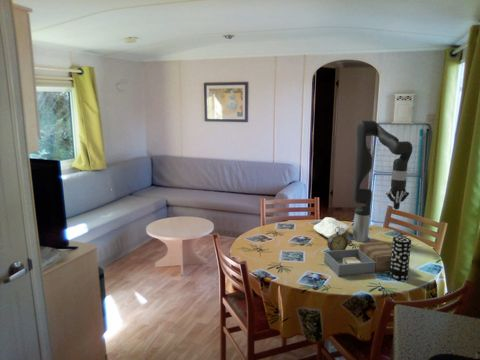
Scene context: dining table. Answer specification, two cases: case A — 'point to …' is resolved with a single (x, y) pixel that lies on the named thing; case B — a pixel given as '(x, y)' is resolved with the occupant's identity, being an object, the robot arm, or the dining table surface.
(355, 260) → the wooden tile
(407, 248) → the white-spotted black cylinder
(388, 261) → the block
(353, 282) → the dining table surface
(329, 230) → the crumpled cloth
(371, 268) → the box
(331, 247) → the alarm clock
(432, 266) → the dining table surface
